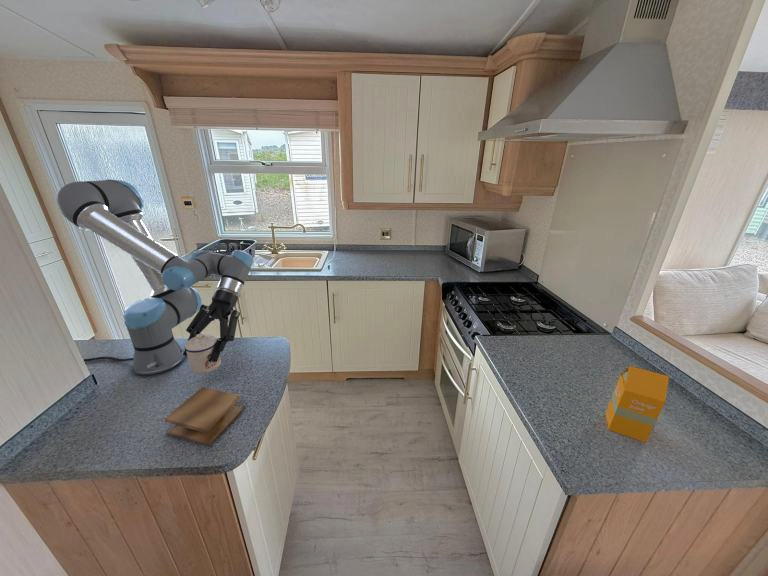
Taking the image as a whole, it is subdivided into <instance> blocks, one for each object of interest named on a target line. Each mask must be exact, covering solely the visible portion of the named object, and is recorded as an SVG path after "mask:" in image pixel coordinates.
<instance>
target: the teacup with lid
mask: <svg viewBox="0 0 768 576" xmlns="http://www.w3.org/2000/svg"><path fill="white" fill-rule="evenodd" d="M217 340H219V338H218V337H217V336H215V335H213V334H203V333H200V334H197V335H196V337H194V338H192V339H190V340H188V339H187V341H186V342H185V343H184V351H185V350H186V352H187V356H186V357H187V361H188V364H189V369H190V370H191V373H193V374H197V375H201V374H208V373H210V372H213V371H215V370H216V369H218V368H219V367H220V366H221V364H222V360H221V354H220V355H219V358H218V360H217V362H213V361H210V360H209V359H210V356H211V354H212V352H213V349H214V347H215V344H216V342H217Z"/></svg>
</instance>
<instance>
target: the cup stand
mask: <svg viewBox="0 0 768 576" xmlns="http://www.w3.org/2000/svg"><path fill="white" fill-rule="evenodd" d="M240 399H241V396H240V394H237V393H232V392H228V391H223V390H218V389H215V388H209V387H205V386H202V387H200V388H199V389H198V390H197V391H196V392H195V393H193V394H192V395H191V396H190V397H189V398H187V399H186V400H185V401H184V402H183V403H182V404H180V405H179V406H178V407H176V408H175V409H174V410H173V411H172V412H170V413H169V414H168V415H167V416H166V417H164V422H165V423H168V424H171V425H173V427H171V428H170V430H168V434H169V435H171V436H175V437H179V438H181V439H186V440H189V441H193V442H197V443H200V444H205V445H207V446H210V445H211V444H212V443H214V441H215V440H216V439H217V438H218V437H219V436H220V435H221V434H222V432H223V431H224V430H225V429H226V428H227V427H228V426H229V425H230V423H231V422H233V421H234V420H235V418H236V417H237V416H238V415H239V414H240V413H241V412H242V411H243V407H242V406H239V405H235V404H236V403H237V402H238V401H239V400H240Z"/></svg>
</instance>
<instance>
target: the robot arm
mask: <svg viewBox="0 0 768 576" xmlns="http://www.w3.org/2000/svg"><path fill="white" fill-rule="evenodd" d="M56 195H57V196H56V204H57V207H58V209H59V211H60V213H61V214H62V215H63V217H64V218H65V219H67V221H69V222H70V224H73V225H74V226H76V227H77V228H79V229H81V230H83V231H87V232H88V231H90V232H92V233H94V234H96V235H97V236H99V237H100V238H102V239H103V240H105V241H107V242H108V243H110V244H112V245H113V246H115V247H116V248H118V249H120V250H121V251H123V252H125V253H126V254H128V255H130V257H131V259H132V260H133V262H134V263H135V265H136V266H137V268H138V270H139V272H140V273H141V274H142V275H143V277H144V279H145V281H146V282H147V283H148V285H149V287H150V288H151V290H152V291H151V293H150V297H148V298H144V299H142V300H141V299H140V300H137V301H134V302H133V303H130V305H128V306H127V307H126V308H125V310H124V311H123V319H124V326H125V327H126V329H127V332H128V334H129V337H130V341H131V344H132V347H133V350H134V351H133V352H134V353H133V357H129V358H117V357H113V356H97V357H91V358H83V359H84V361H83V362H90V361H97V360H114V361H118V362H128V361H132V368H133V371H134V373H135V374H136V375H140V376H154V375H159V374H162V373H166V372H168V371H170V370H173V369H174V368H176V367H178V366H179V365H180V364H181V363H183V361H184V360H185V358H186V357H188V356H187V352H186V350H185V349H183V348H182V347H181V346H180V344H179V343H178V342H177V340H176V339H175V337H174V333H173V328H175V327H177V326H179V325H180V324H181V323H183V322H185V321H187V320H188V319H190V318H192V317H193V316H194V315H195V316H194V317H193V319H192V320H191V321H190V323H189V325H188V326H187V328H186V329H185V331H186V332H187V333H188V334H189V335H188V338H187V341H188V340H190V339H192V338H194V337H196V335H197V334H202V332H203V331H204V330H205V329H206V327H208V325H210V323H211V322H214V321H215V320H218V321H219V338H218V340H217V342H216V344H215V347H214V349H213V352H212V354H211V356H210V359H209V360H210V361H213V362H217V360H218V358H219V355H220V356H221V353H222V352H224V350H225V348H226V345H227V343H228V342H233V341H235V335H236V329H237V325H238V319H239V317H240V315H241V312H240V311H238V310H237V309H234V308H236V305H237V303H238V300H239V296H240V295H241V293H242V290H243V288H244V286H245V282H246V280H247V278H248V275H249V273H250V272H251V270H252V266H253V263H254V257H253V256H252V255H251V254H250V253H248V252H247V251H244V250H241V249H234V250H233V251H232V252H231V254H222V253H219V252H218V253H217V252H213V251H210V250H202V249H200V250H196V251H194V252H193V254H192V255H191V256H190V259H187V260H186V259H185V258H183V257H181V256H180V255H178V254H176V253H175V252H173V251H171V250H170V249H168V247H166V246H164V245H162V244H161V243H159V242H158V241H156V240H154V239H153V237H152V235H151V233H150V232H149V230H148V229H147V227H146V224H145V223H144V222H143V216H144V213H143V211H142V210H143V208H144V204H143V203H144V199H143V195H142V194H141V193H140V191H139V190H138V189H137V188H136V187H135V186H134V185H133V184H131V183H129V182H127V181H124V180H121V179H103V180H85V181H82V180H80V181H73V182H69V183H67V184H65V185H64V186H62V187H61V188H60V189H59V191H58V193H57V194H56ZM213 275H216V276H221V277H220V279H219V282H218V283H217V285H216V290H215V291H214V292H213V295H212V298H211V303H210V304H209V305H205V304H203V303H202V297H201V294H200V293H199V291H198V290H197V289H196V288H193V286H194V285H195V284H197V283H198V282H201V281H203V280H205V279H207V278H209V277H211V276H213Z"/></svg>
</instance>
